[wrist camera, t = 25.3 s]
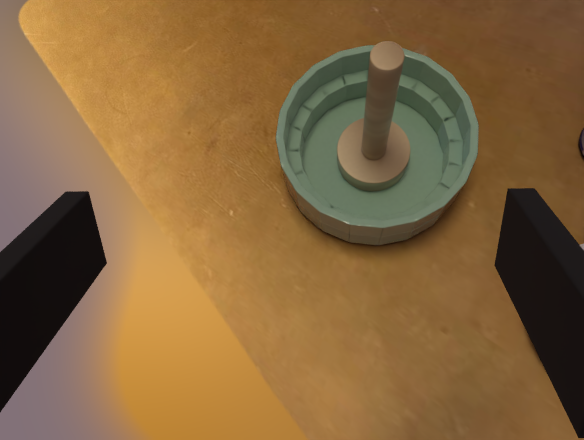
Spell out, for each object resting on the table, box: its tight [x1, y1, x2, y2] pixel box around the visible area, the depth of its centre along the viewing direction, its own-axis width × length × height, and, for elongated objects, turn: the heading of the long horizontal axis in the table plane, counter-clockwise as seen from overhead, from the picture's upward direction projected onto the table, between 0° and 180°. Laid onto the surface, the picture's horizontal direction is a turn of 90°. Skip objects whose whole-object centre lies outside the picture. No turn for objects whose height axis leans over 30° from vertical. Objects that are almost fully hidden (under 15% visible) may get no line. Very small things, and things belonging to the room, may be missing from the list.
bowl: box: [276, 45, 479, 245], centre depth 42 cm, size 15×15×6 cm
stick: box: [337, 41, 410, 191], centre depth 37 cm, size 6×6×15 cm
